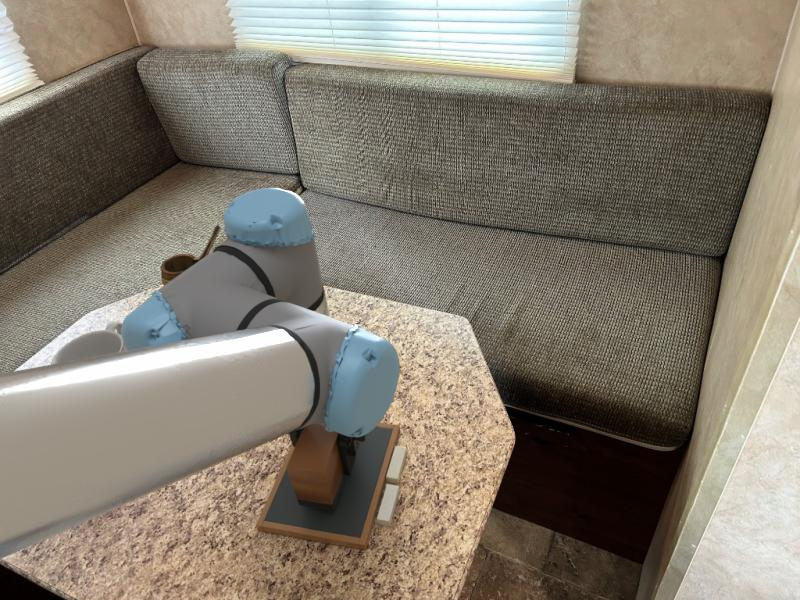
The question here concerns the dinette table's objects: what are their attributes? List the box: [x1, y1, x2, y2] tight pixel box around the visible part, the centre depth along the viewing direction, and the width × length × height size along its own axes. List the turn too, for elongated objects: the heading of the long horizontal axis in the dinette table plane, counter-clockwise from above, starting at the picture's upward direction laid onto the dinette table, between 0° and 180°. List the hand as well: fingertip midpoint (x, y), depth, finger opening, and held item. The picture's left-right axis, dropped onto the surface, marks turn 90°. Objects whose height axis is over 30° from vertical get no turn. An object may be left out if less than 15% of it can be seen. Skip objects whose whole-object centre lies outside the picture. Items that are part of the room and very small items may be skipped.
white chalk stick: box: [386, 445, 408, 485], centre depth 80 cm, size 5×1×2 cm
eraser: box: [286, 424, 346, 511], centre depth 76 cm, size 12×5×8 cm, turn 166°
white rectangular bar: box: [376, 483, 401, 527], centre depth 76 cm, size 5×1×2 cm
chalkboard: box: [255, 422, 401, 551], centre depth 80 cm, size 18×14×1 cm
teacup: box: [50, 320, 128, 365], centre depth 95 cm, size 14×11×8 cm
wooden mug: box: [160, 224, 222, 286], centre depth 103 cm, size 9×14×18 cm, turn 90°
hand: (330, 463), depth 78 cm, fingers closed on eraser, 5 cm apart
